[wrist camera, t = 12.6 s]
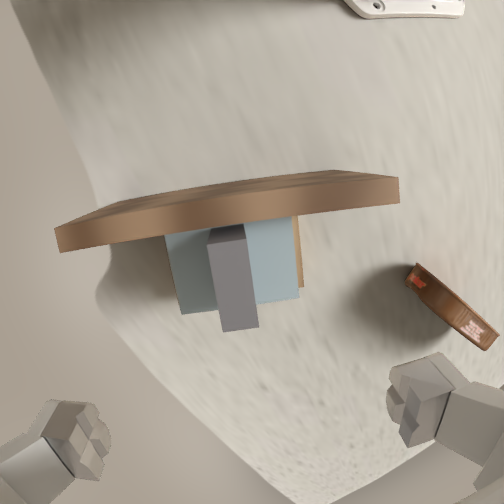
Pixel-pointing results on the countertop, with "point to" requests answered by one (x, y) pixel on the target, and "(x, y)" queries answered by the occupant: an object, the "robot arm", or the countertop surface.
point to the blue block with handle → (234, 269)
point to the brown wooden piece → (229, 207)
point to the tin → (451, 307)
